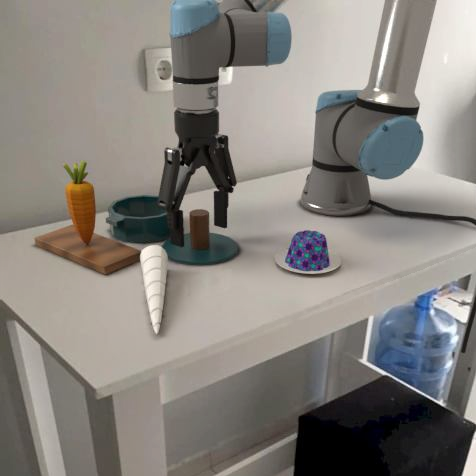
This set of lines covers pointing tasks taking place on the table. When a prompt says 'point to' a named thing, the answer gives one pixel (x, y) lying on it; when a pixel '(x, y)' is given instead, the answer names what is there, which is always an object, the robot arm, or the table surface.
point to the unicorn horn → (154, 280)
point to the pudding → (308, 254)
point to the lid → (201, 243)
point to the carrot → (81, 202)
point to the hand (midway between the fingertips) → (199, 235)
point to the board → (89, 250)
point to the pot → (138, 219)
